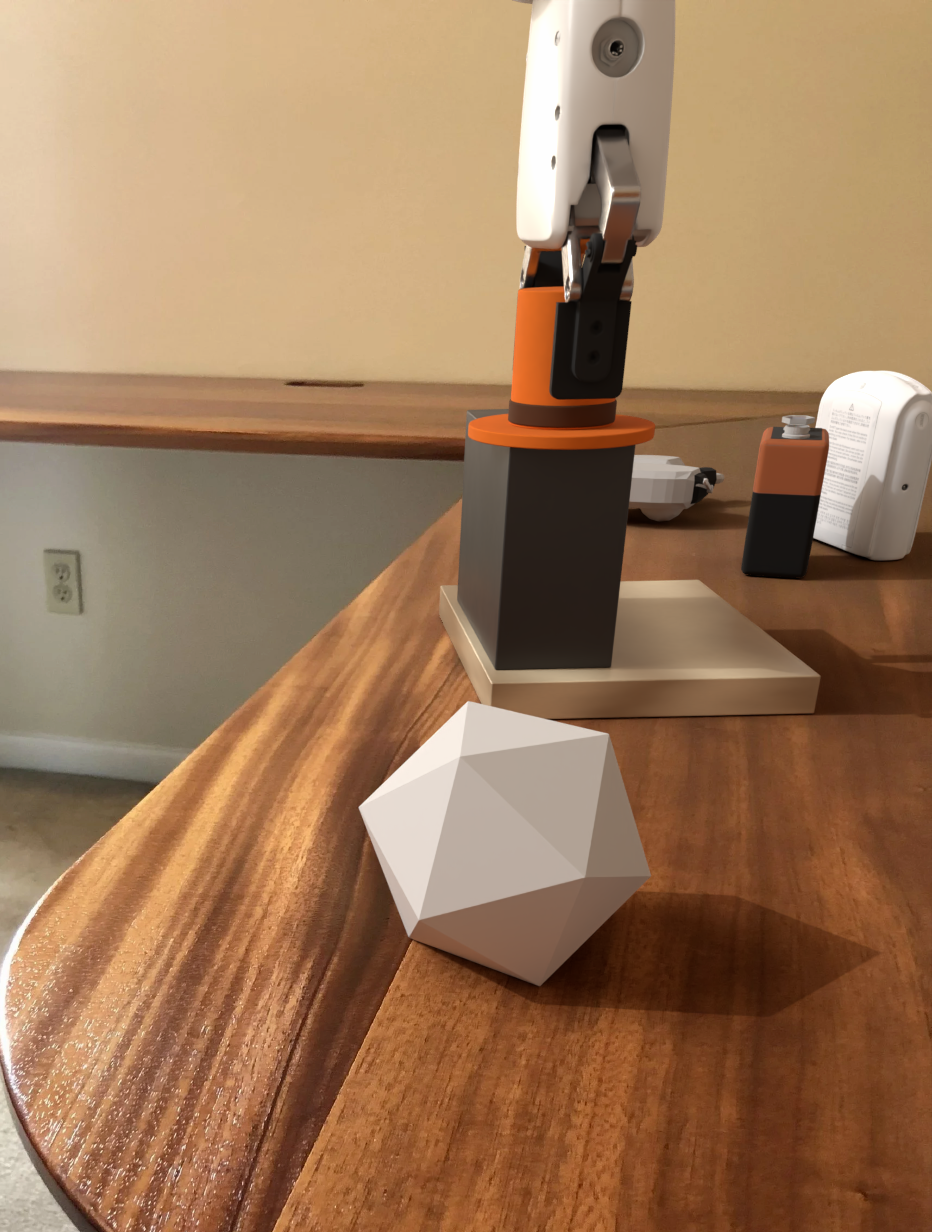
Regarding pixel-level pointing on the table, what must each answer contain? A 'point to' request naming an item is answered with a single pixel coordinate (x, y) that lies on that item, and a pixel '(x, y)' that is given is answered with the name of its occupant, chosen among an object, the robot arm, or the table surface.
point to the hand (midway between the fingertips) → (562, 386)
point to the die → (507, 839)
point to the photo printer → (874, 463)
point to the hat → (532, 406)
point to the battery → (785, 499)
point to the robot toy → (668, 485)
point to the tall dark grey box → (543, 551)
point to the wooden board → (651, 662)
